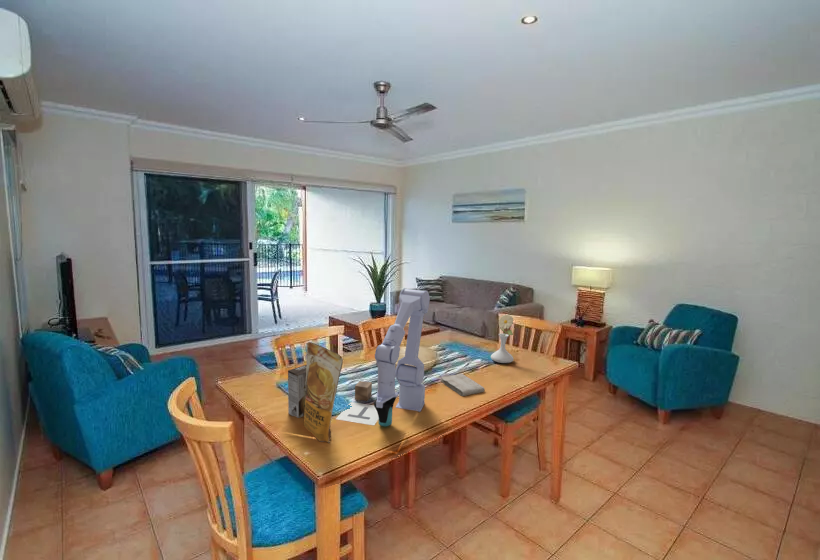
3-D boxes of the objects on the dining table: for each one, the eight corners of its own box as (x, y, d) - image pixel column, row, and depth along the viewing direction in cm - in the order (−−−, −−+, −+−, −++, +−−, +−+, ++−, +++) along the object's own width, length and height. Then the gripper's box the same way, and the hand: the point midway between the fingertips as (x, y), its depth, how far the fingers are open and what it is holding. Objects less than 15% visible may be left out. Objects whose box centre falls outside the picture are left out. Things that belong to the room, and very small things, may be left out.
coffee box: (308, 405, 151) (308, 363, 149) (319, 410, 147) (320, 367, 145) (287, 413, 144) (287, 369, 142) (298, 419, 140) (298, 374, 138)
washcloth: (460, 377, 185) (460, 371, 184) (486, 393, 169) (486, 385, 169) (438, 381, 179) (438, 375, 178) (462, 398, 163) (463, 390, 163)
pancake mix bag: (315, 417, 142) (315, 339, 138) (343, 440, 128) (345, 354, 124) (296, 422, 138) (296, 342, 134) (324, 447, 124) (325, 358, 120)
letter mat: (386, 408, 151) (386, 407, 151) (374, 426, 137) (374, 425, 137) (350, 403, 154) (351, 401, 154) (335, 420, 140) (335, 419, 140)
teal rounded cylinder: (393, 420, 139) (393, 406, 138) (389, 427, 134) (390, 412, 134) (380, 418, 140) (381, 404, 139) (376, 425, 136) (377, 410, 135)
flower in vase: (486, 358, 211) (489, 310, 207) (505, 356, 214) (509, 310, 211) (499, 367, 199) (502, 316, 195) (519, 365, 202) (523, 316, 198)
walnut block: (371, 397, 160) (371, 382, 159) (367, 402, 155) (367, 387, 154) (359, 395, 161) (359, 380, 160) (354, 400, 156) (355, 385, 155)
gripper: (391, 390, 127) (390, 431, 129) (403, 373, 141) (402, 410, 143) (370, 387, 129) (369, 427, 131) (384, 371, 143) (383, 407, 145)
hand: (385, 418), depth 137 cm, fingers closed on teal rounded cylinder, 4 cm apart
